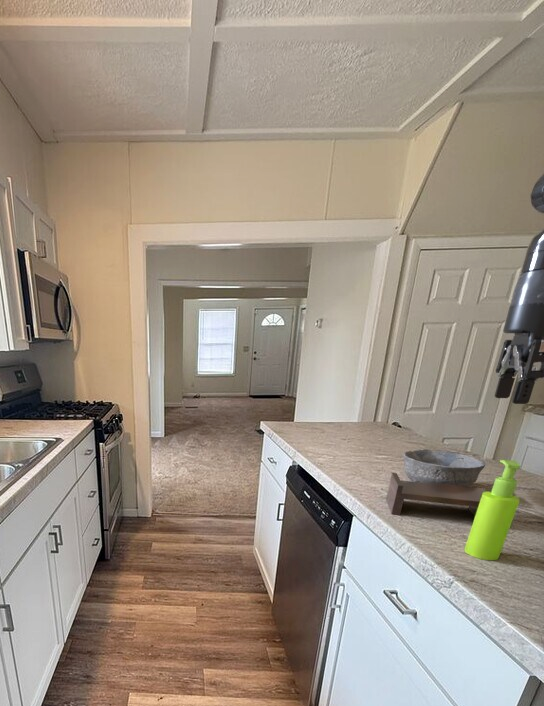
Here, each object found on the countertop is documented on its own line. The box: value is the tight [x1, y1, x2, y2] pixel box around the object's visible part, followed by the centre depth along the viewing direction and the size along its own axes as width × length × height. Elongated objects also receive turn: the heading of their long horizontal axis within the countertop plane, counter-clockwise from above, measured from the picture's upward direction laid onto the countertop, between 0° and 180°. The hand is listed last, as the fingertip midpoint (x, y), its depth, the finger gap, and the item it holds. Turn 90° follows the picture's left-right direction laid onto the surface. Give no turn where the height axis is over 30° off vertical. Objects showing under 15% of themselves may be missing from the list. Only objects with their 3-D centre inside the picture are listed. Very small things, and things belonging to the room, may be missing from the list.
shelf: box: [385, 472, 488, 517], centre depth 105 cm, size 22×12×8 cm, turn 69°
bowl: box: [403, 449, 487, 487], centre depth 122 cm, size 21×21×10 cm
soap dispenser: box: [464, 459, 521, 561], centre depth 82 cm, size 6×7×20 cm
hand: (509, 400), depth 74 cm, fingers open, 8 cm apart
